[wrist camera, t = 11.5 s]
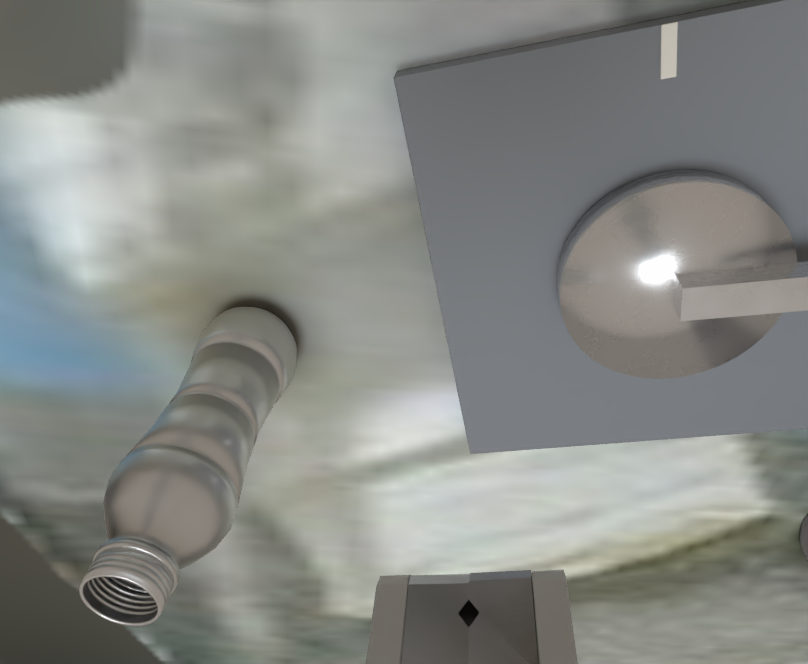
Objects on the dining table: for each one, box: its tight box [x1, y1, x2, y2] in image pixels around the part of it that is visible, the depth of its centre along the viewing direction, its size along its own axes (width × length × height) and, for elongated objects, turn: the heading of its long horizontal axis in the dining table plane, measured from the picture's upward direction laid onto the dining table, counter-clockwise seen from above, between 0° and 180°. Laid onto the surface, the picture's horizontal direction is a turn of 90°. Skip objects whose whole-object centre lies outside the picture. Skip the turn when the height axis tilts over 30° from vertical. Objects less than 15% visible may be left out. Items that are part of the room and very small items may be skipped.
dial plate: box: [394, 0, 808, 454], centre depth 37 cm, size 26×26×2 cm
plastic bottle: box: [79, 307, 297, 626], centre depth 35 cm, size 6×7×20 cm
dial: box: [557, 170, 808, 379], centre depth 32 cm, size 18×12×7 cm
